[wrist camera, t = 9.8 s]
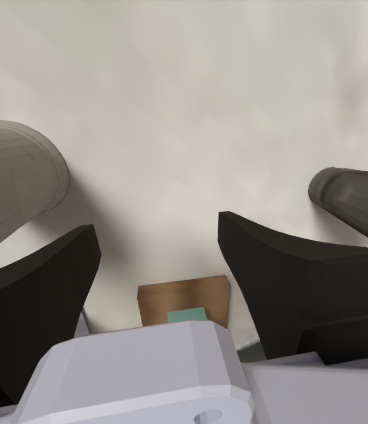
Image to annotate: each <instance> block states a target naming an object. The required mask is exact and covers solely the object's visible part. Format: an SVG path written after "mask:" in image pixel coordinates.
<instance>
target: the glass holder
mask: <svg viewBox="0 0 368 424" xmlns="http://www.w3.org/2000/svg"><path fill="white" fill-rule="evenodd" d="M68 186H69V173H68V168H67V165H66V163H65V160H64V158H63V157H62V155H61V153H60V152H59V150H58V149H57V148H56V147H55V145H54V144H53V143H52V142H51V141H50V140H48V139H47V138H46V137H45V136H44V135H42V134H41V133H39V132H38V131H36V130H34V129H32V128H31V127H28V126H26V125H23V124H20V123H17V122H12V121H2V120H0V243H1V242H2V241H3V240H5V239H6V238H7V237H8V236H10V235H11V234H12V233H14V232H15V231H16V230H17V229H19V228H20V227H21V226H23V225H24V224H25V223H27V222H28V221H29V220H30V219H32V218H33V217H34V216H36V215H37V214H38V213H39V212H44V211H47V210H49V209H51V208H53V207H55V206H56V205H58V204H59V203H60V202H61V201H62V199H63V198H64V197H65V195H66V193H67V191H68Z"/></svg>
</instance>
